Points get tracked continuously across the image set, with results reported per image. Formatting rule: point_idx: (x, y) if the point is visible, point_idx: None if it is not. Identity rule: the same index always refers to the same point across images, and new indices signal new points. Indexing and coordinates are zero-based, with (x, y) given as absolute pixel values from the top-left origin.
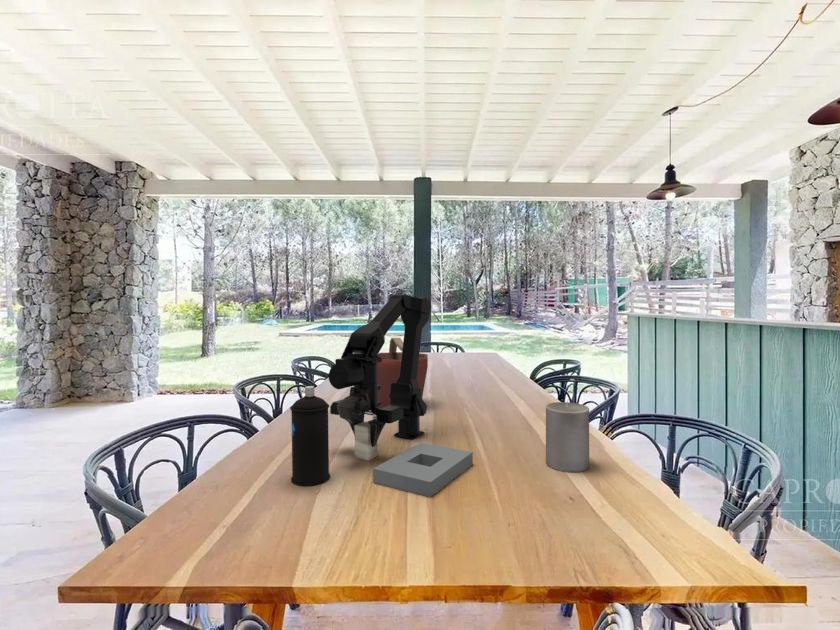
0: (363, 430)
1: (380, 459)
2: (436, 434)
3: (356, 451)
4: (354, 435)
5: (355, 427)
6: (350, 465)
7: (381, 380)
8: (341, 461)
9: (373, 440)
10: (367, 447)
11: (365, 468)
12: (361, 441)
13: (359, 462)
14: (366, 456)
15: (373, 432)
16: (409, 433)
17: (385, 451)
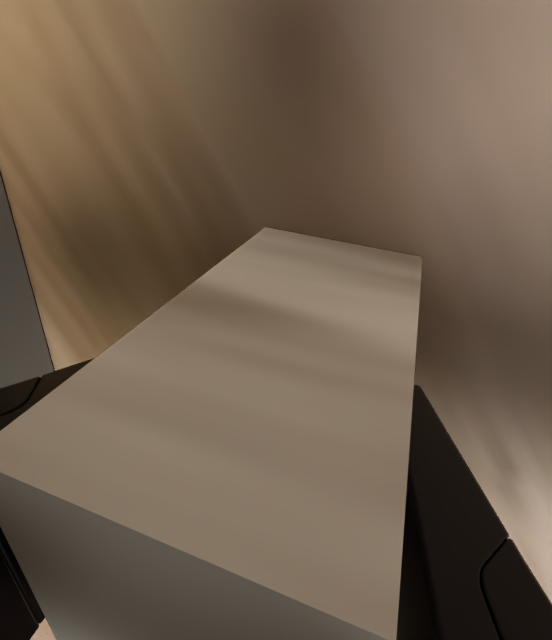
0: (135, 430)
1: (192, 280)
2: None
3: (392, 275)
4: (460, 462)
5: (365, 556)
6: (355, 4)
7: None
8: (538, 77)
9: None
10: (213, 272)
11: (166, 12)
12: (277, 319)
13: (308, 146)
14: (267, 239)
15: (3, 397)
16: None
17: None
